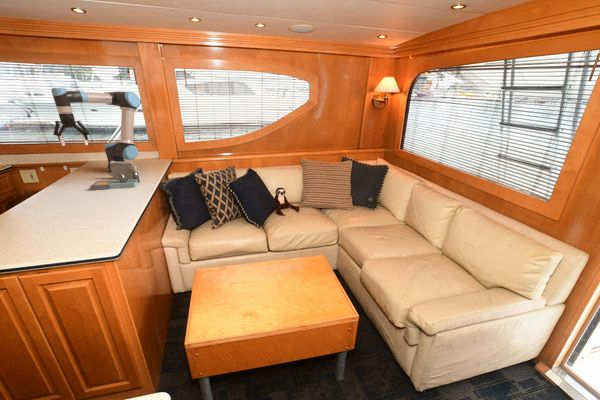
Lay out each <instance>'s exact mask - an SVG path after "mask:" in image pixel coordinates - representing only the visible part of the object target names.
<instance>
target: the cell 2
mask: <svg viewBox="0 0 600 400" xmlns="http://www.w3.org/2000/svg"><path fill="white" fill-rule="evenodd" d="M137 171H138V170H137ZM137 171H133V172H131V173H132V177H133V179H137V181H138V184H139V183H140V182H141V180H140V177H139V172H137Z"/></svg>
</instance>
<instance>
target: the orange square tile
mask: <svg viewBox="0 0 600 400" xmlns="http://www.w3.org/2000/svg"><path fill="white" fill-rule="evenodd" d="M105 181H106V182H98V183H96V184H95V185H103V184H107V183H108V182H109V181H108V180H105Z"/></svg>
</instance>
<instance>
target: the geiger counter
mask: <svg viewBox="0 0 600 400" xmlns="http://www.w3.org/2000/svg"><path fill="white" fill-rule="evenodd" d="M110 164H111V165H110V168H111V172H110V174H109V173H108V172H107V171H108V170H109V169H107V168H106V171H105V173H106V174H107V175H108V176H112V180H119V177H118V174H120V173H122V174H125V178H126V179H128V180H133V177H132V173H131V172H133V171H137V172H138V167H137V164H136V165H135V163H134V162H132V161H125V162H116V161H111V162H110ZM138 173H139V172H138Z"/></svg>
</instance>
